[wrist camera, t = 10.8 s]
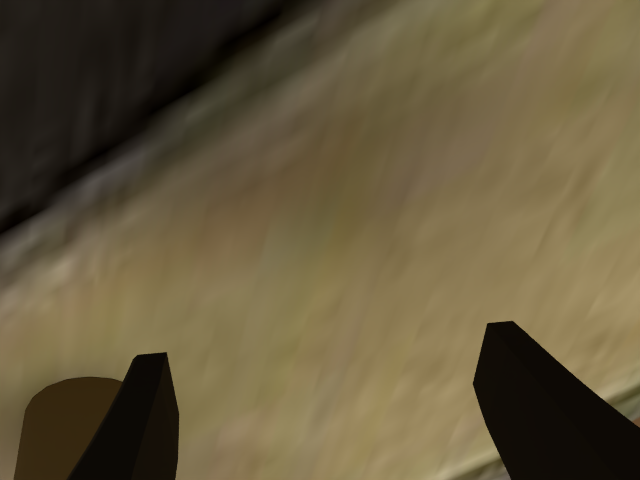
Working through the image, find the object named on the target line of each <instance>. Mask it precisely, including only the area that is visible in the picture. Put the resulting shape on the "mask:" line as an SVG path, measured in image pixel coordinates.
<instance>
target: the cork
mask: <svg viewBox="0 0 640 480" xmlns="http://www.w3.org/2000/svg"><path fill="white" fill-rule="evenodd" d="M122 383H123V382H120V381H117V380H114V379H107V378H95V377H84V378H76V379H68V380H64V381H61V382H59V383H56V384H53V385H51V386H48V387H46V388H45V389H43V390H42V391H41V392H39V393H38V394H37V395H35V396H34V397H33V398H32V400H31V402H30V403H29V405H28V407H27V408H26V410H25V416H24V421H23V427H22V433H21V439H20V445H19V451H18V457H17V463H16V469H15V474H14V480H66V479H67V478H68V476H69V474H70V473H71V471H72V470H73V468H74V467H75V465H76V464H77V462H78V460H79V459H80V457H81V456H82V454H83V453H84V451H85V450H86V448H87V446H88V445H89V443H90V441H91V440H92V438H93V436H94V434H95V433H96V431H97V429H98V427H99V426H100V424H101V422H102V420H103V419H104V417H105V415H106V413H107V412H108V410H109V408H110V406H111V404H112V402H113V400H114V398H115V396H116V395H117V393H118V391H119V389H120V387H121V385H122Z"/></svg>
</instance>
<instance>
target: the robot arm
mask: <svg viewBox="0 0 640 480" xmlns="http://www.w3.org/2000/svg"><path fill="white" fill-rule="evenodd" d="M473 386H474V389H475V393H476V396H477V399H478V402H479V406H480V409H481V412H482V415H483V418H484V420H485V423H486V426H487V428H488V431H489V433H490V435H491V437H492V439H493V442H494V444H495V446H496V448H497V450H498V452H499V454H500V457H501V459H502V461H503V463H504V465H505V467H506V469H507V471H508V474H509V476H510V478H511V480H640V428H639V427H638V426H636V425H635V424H634V423H633V422H631V421H630V420H629V419H627V418H626V417H625V416H623V415H622V414H621V413H620V412H618V411H617V410H616V409H614V408H613V407H612V406H610V405H609V404H608V403H607V402H605V401H604V400H603V399H602V398H600V397H599V396H598V395H597V394H596V393H594V392H593V391H592V390H591V389H589V388H588V387H587V386H586V385H585V384H583V383H582V382H581V381H580V380H579V379H578V378H576V377H575V376H574V375H573V374H572V373H571V372H569V371H568V370H567V369H566V368H565V367H564V366H563V365H561V364H560V363H559V362H558V361H557V360H556V359H555V358H554V357H553V356H551V355H550V354H549V353H548V352H547V351H546V350H545V349H544V348H542V347H541V346H540V345H539V344H538V343H537V342H536V341H535V340H534V339H533V338H531V337H530V336H529V335H528V334H527V333H526V332H525V331H524V330H522V329H521V328H520V327H519V326H518V325H517V324H516V323H515V322H513V321H506V322H495V323H487V327H486V331H485V335H484V339H483V343H482V347H481V352H480V356H479V360H478V364H477V368H476V373H475V377H474V381H473ZM178 440H179V411H178V406H177V401H176V396H175V391H174V386H173V381H172V376H171V372H170V367H169V362H168V357H167V352H164V353H153V354H142V355H137V356H136V357H135V358H134V359H133V361H132V363H131V365H130V368H129V370H128V372H127V374H126V376H125V378H124V380H123V383H122V385H121V387H120V389H119V391H118V393H117V395H116V396H115V398H114V400H113V402H112V404H111V406H110V408H109V410H108V412H107V413H106V415H105V417H104V419H103V420H102V422H101V424H100V426H99V427H98V429H97V431H96V433H95V434H94V436H93V438H92V440H91V441H90V443H89V445H88V446H87V448H86V450H85V451H84V453H83V454H82V456H81V457H80V459H79V460H78V462H77V464H76V465H75V467H74V468H73V470H72V471H71V473H70V474H69V476H68V478H67V479H66V480H175V478H176V470H177V462H178Z"/></svg>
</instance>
